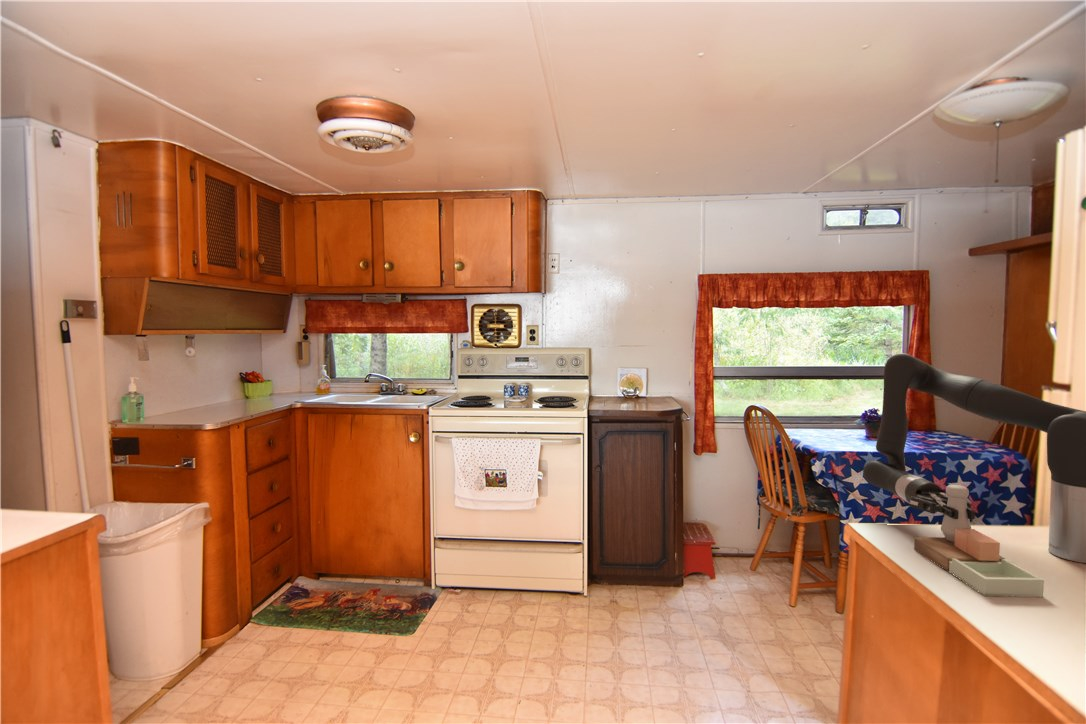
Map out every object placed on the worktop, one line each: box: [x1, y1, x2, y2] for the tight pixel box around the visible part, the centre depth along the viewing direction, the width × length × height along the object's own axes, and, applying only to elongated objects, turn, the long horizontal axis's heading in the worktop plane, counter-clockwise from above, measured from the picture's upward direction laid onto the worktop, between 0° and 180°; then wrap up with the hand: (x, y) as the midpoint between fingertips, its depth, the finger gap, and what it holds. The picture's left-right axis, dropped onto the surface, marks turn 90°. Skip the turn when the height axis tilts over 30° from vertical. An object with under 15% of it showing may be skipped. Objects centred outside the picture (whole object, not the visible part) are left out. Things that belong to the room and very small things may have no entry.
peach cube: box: [967, 535, 1001, 561], centre depth 119 cm, size 4×4×4 cm
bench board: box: [913, 536, 1006, 572], centre depth 124 cm, size 12×12×3 cm
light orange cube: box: [955, 528, 987, 553], centre depth 123 cm, size 4×4×4 cm
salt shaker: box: [940, 484, 972, 543], centre depth 128 cm, size 6×6×13 cm
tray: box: [948, 558, 1045, 598], centre depth 113 cm, size 11×10×4 cm
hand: (964, 515), depth 125 cm, fingers closed on salt shaker, 3 cm apart
